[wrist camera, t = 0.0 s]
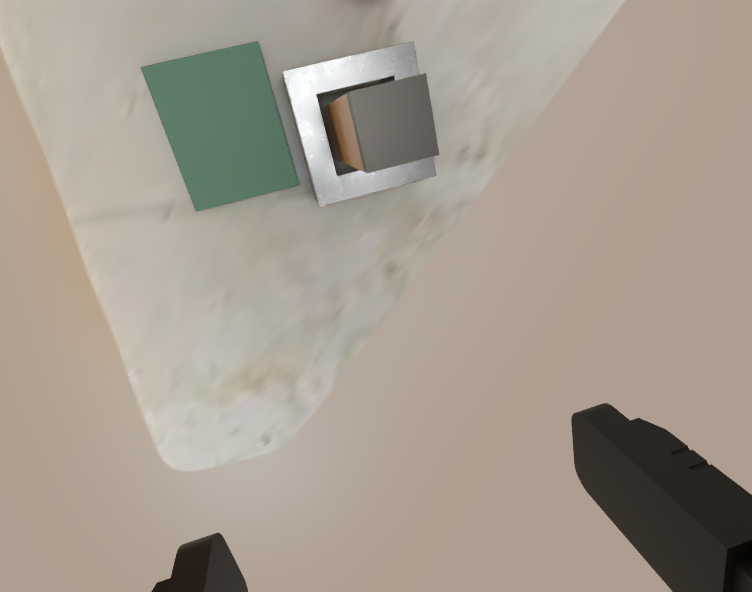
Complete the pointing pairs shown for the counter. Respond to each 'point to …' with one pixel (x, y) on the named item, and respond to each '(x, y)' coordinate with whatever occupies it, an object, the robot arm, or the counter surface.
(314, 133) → the gray square frame
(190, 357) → the counter surface
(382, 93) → the plug
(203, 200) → the mat
